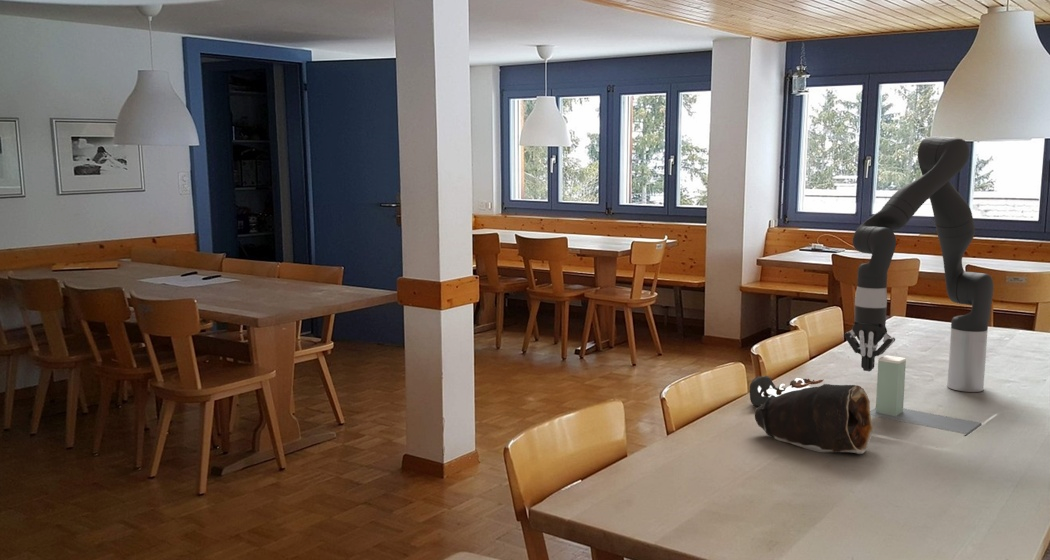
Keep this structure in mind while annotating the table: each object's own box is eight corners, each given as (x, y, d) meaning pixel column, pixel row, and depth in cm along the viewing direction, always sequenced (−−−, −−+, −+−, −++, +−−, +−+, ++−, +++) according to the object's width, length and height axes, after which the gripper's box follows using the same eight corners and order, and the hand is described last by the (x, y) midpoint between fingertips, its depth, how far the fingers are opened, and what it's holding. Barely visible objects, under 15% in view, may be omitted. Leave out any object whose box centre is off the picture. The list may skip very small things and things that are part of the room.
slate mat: (882, 406, 227) (882, 404, 227) (981, 425, 211) (981, 422, 211) (864, 416, 219) (864, 413, 219) (966, 436, 202) (966, 433, 202)
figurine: (764, 373, 237) (827, 372, 224) (767, 408, 236) (831, 409, 224) (738, 379, 227) (802, 378, 214) (741, 415, 226) (806, 416, 214)
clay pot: (762, 377, 210) (865, 374, 194) (774, 437, 212) (878, 438, 196) (735, 398, 199) (843, 396, 183) (748, 461, 201) (856, 464, 184)
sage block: (883, 408, 224) (886, 355, 222) (902, 411, 220) (906, 358, 219) (875, 412, 220) (878, 358, 218) (895, 416, 217) (898, 361, 215)
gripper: (902, 305, 219) (899, 372, 221) (851, 299, 228) (848, 364, 230) (891, 309, 214) (887, 377, 216) (839, 303, 223) (836, 369, 225)
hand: (867, 370), depth 223 cm, fingers closed
